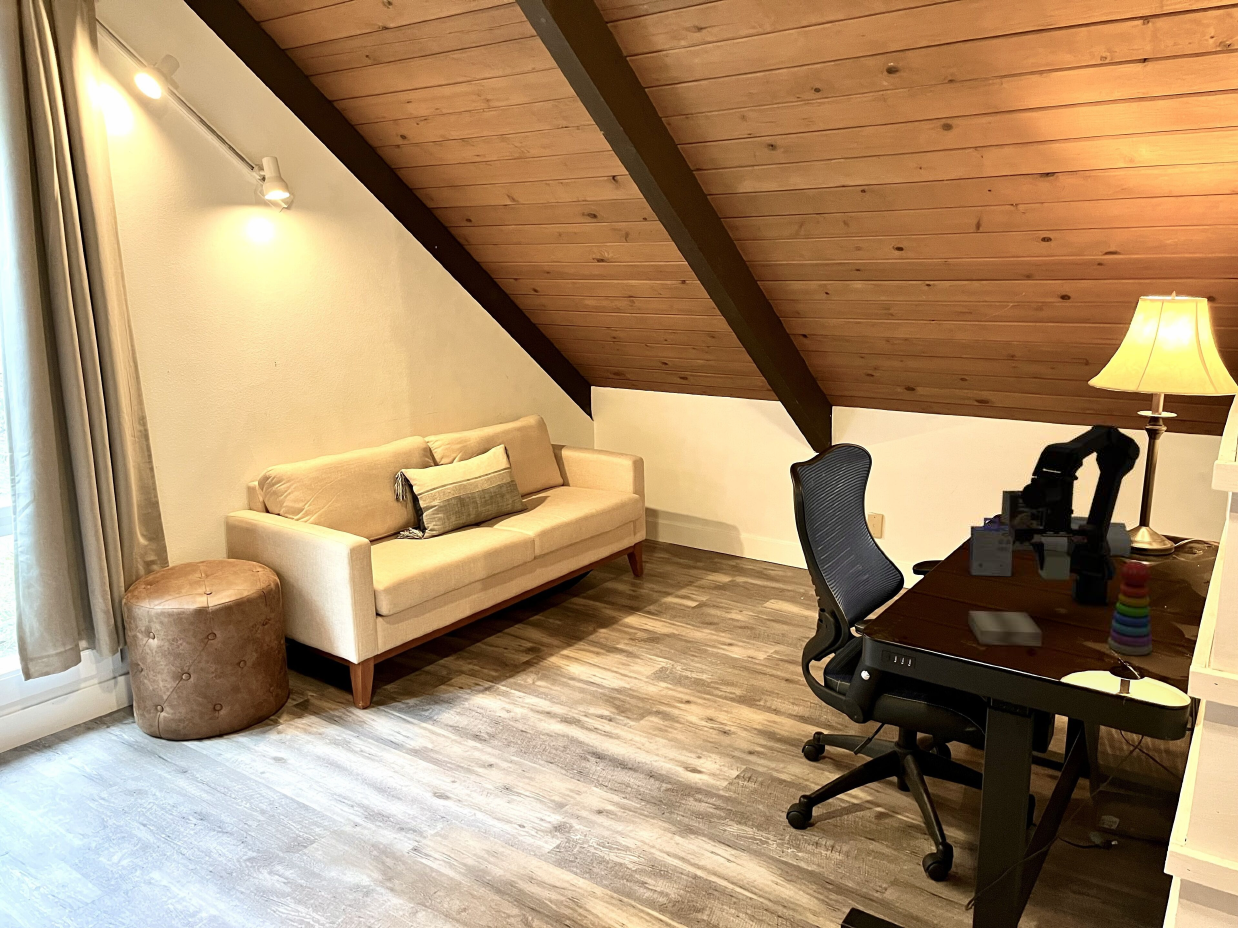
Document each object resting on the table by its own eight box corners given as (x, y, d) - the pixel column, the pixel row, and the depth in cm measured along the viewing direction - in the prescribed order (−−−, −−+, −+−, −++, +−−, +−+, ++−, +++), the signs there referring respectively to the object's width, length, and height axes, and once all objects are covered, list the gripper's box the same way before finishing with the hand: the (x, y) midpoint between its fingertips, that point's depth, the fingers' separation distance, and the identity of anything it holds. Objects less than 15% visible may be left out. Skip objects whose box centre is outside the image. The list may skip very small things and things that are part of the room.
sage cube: (1061, 572, 206) (1063, 551, 205) (1068, 579, 201) (1070, 557, 200) (1038, 572, 207) (1039, 550, 206) (1044, 578, 202) (1046, 557, 201)
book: (1152, 561, 244) (1154, 534, 243) (1037, 553, 255) (1038, 526, 254) (1142, 544, 262) (1144, 518, 261) (1034, 537, 273) (1036, 512, 271)
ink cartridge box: (1007, 570, 240) (1010, 517, 237) (1012, 577, 234) (1015, 522, 232) (968, 569, 242) (970, 516, 239) (971, 575, 236) (974, 521, 234)
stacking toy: (1099, 642, 190) (1105, 556, 187) (1135, 640, 191) (1142, 554, 188) (1122, 657, 183) (1129, 567, 179) (1160, 655, 183) (1168, 565, 180)
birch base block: (1025, 625, 201) (1026, 612, 201) (1041, 646, 190) (1041, 632, 189) (968, 623, 203) (968, 610, 203) (980, 644, 192) (981, 630, 191)
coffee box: (1008, 550, 257) (1010, 495, 254) (998, 544, 263) (1001, 490, 260) (1040, 550, 257) (1043, 494, 254) (1030, 543, 263) (1033, 489, 260)
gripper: (1091, 494, 207) (1086, 560, 210) (1004, 493, 210) (1000, 559, 213) (1108, 505, 197) (1103, 575, 199) (1017, 505, 200) (1013, 573, 202)
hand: (1053, 570), depth 204 cm, fingers closed on sage cube, 5 cm apart
